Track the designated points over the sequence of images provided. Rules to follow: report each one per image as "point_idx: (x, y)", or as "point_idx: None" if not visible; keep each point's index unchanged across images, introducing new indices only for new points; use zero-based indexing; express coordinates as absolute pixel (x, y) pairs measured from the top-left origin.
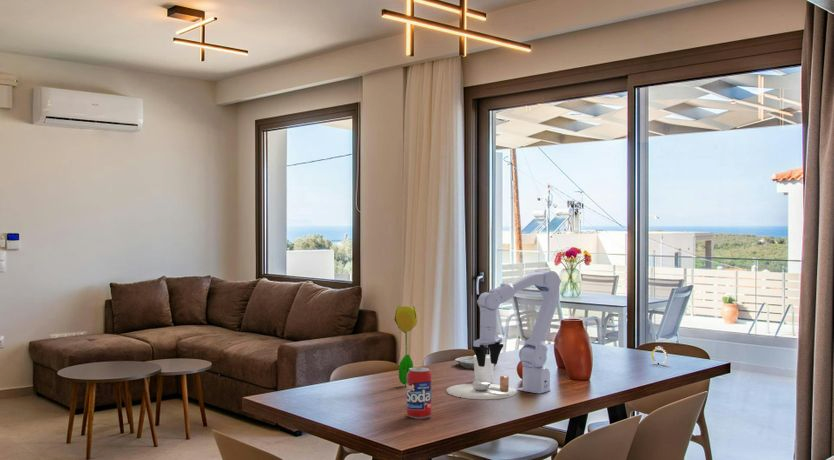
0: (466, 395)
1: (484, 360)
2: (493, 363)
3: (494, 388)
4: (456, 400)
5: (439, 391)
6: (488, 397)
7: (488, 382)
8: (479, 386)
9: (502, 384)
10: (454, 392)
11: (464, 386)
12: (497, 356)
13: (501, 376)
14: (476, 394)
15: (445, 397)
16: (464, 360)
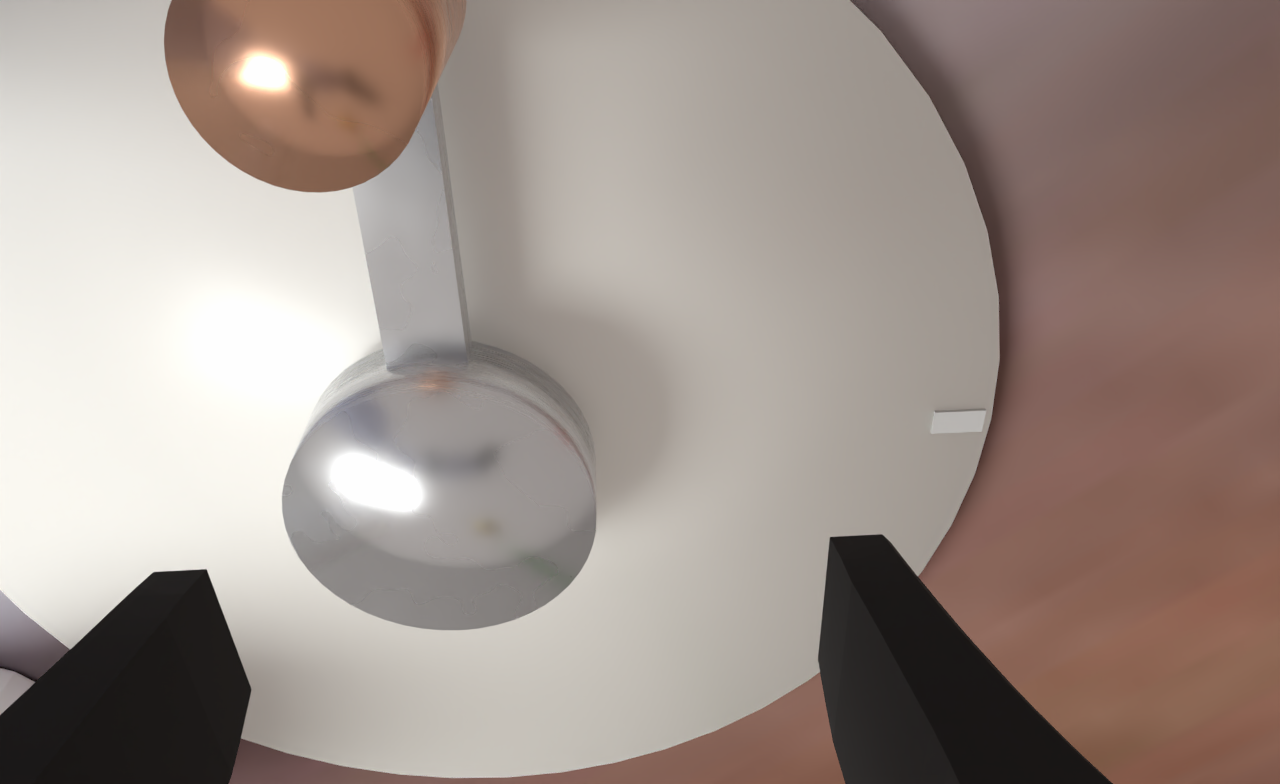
0: (905, 378)
1: (950, 659)
2: (226, 638)
3: (446, 210)
4: (1186, 325)
5: (826, 724)
6: (810, 41)
7: (324, 463)
8: (577, 443)
9: (442, 3)
10: None
11: (447, 696)
12: (48, 751)
13: (343, 148)
14: (746, 324)
15: (1084, 517)
16: None
